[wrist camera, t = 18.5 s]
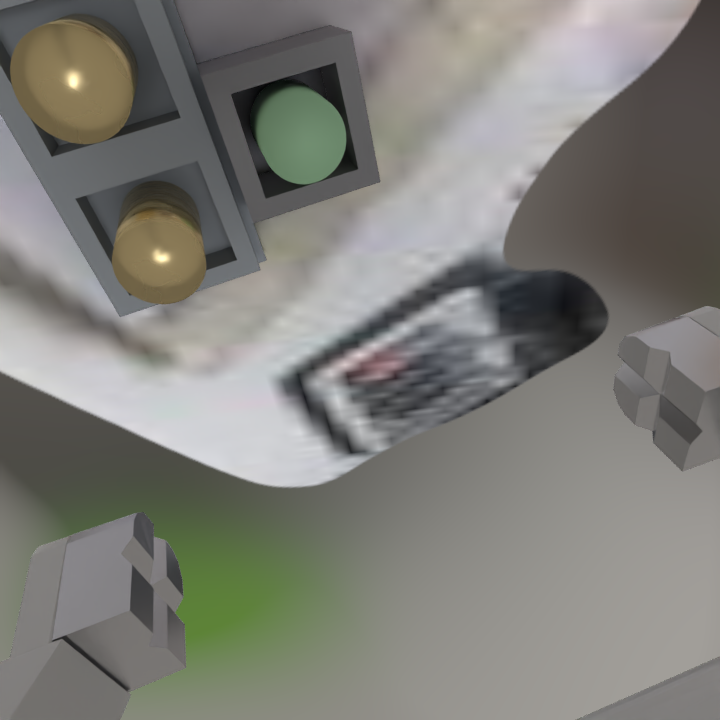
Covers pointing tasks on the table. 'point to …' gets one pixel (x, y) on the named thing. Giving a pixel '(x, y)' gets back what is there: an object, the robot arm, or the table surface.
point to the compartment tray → (136, 143)
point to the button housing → (343, 92)
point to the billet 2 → (159, 244)
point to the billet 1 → (75, 78)
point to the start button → (297, 131)
